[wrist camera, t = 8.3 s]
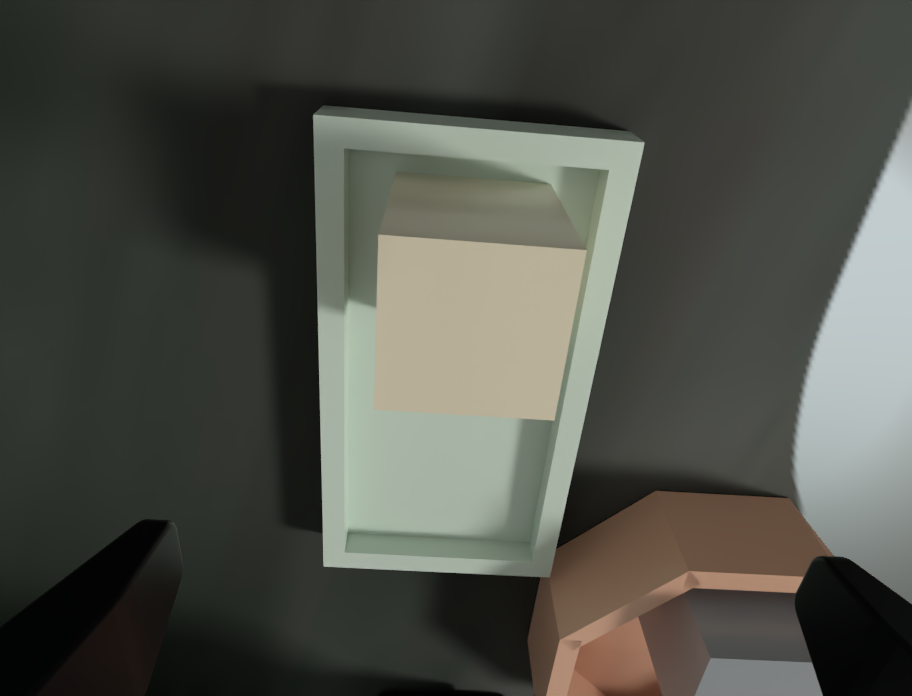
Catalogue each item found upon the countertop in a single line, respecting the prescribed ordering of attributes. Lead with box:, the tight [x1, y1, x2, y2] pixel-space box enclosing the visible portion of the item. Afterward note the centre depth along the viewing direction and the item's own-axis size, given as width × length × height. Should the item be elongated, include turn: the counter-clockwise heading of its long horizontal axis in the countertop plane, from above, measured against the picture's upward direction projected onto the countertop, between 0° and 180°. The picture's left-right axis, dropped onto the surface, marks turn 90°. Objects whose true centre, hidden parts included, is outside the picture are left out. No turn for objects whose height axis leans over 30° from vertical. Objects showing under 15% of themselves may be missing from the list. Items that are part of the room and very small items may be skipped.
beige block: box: [374, 172, 587, 421], centre depth 17 cm, size 4×4×6 cm
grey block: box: [638, 588, 823, 696], centre depth 24 cm, size 4×4×6 cm
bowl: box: [527, 491, 834, 696], centre depth 27 cm, size 13×13×4 cm
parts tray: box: [313, 105, 645, 577], centre depth 22 cm, size 17×9×2 cm, turn 175°
